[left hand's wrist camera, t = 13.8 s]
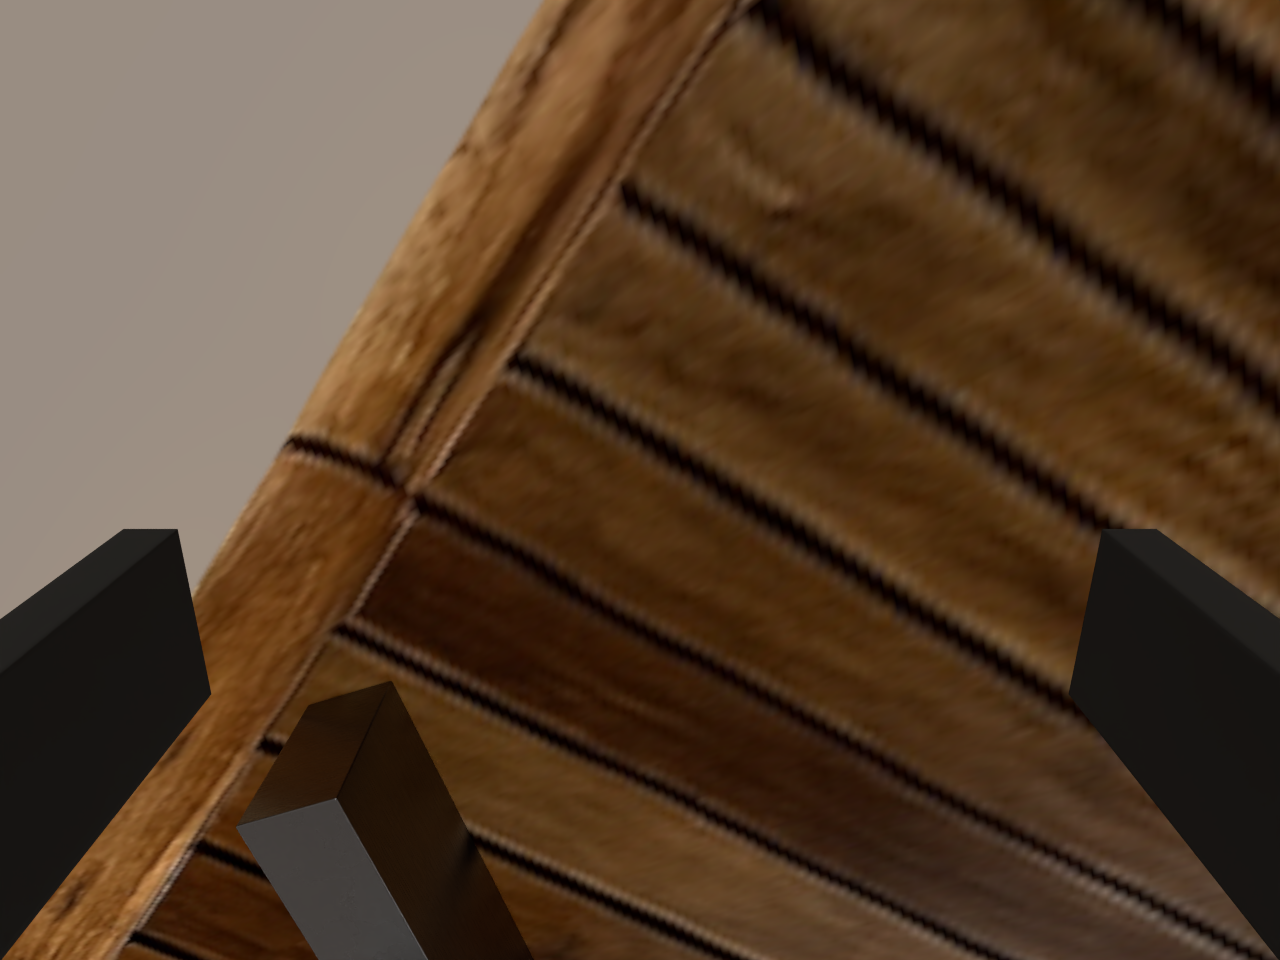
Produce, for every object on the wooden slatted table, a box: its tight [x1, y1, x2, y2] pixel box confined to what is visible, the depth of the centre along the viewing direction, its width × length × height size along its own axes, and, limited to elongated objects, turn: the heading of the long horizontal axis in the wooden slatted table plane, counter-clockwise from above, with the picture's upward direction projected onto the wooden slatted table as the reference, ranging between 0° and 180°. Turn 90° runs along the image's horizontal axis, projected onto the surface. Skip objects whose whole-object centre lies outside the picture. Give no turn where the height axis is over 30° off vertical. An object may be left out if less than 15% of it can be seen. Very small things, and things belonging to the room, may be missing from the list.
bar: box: [236, 681, 533, 960], centre depth 46 cm, size 26×5×9 cm, turn 18°
